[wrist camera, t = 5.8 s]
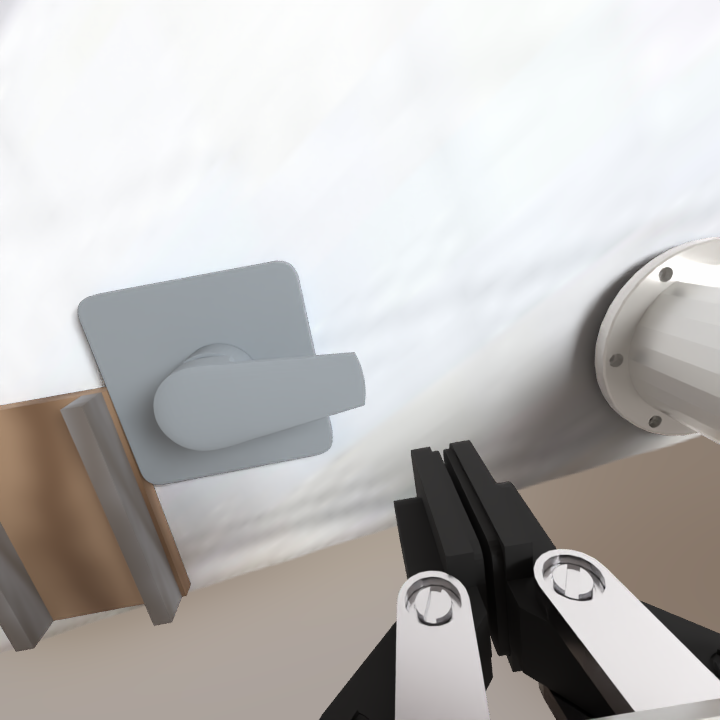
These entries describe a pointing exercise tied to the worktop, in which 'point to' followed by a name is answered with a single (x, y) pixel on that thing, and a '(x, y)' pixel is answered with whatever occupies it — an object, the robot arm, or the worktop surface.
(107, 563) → the stand
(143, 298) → the shower valve
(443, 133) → the worktop surface
